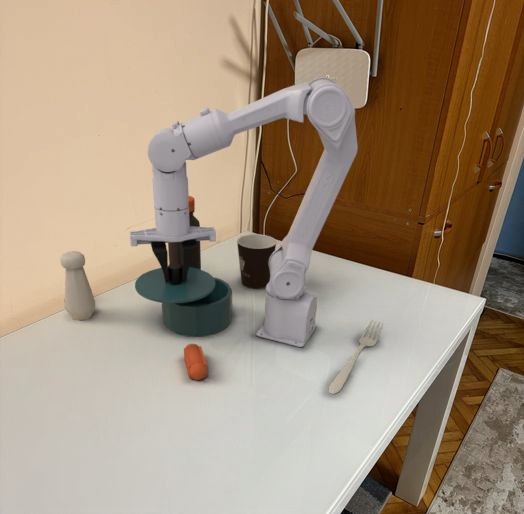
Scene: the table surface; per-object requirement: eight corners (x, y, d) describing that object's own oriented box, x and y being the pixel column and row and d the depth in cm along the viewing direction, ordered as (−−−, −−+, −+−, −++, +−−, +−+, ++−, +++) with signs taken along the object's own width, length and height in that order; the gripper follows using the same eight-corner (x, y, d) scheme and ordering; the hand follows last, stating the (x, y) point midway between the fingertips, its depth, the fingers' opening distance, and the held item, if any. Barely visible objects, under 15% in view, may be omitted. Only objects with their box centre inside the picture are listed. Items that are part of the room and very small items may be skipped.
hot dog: (209, 382, 84) (208, 367, 82) (190, 384, 83) (190, 369, 81) (199, 353, 91) (199, 339, 89) (183, 355, 90) (182, 341, 88)
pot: (243, 314, 104) (244, 285, 100) (206, 343, 94) (205, 313, 90) (189, 297, 109) (188, 270, 106) (149, 324, 99) (146, 294, 95)
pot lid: (230, 283, 96) (230, 262, 93) (183, 314, 85) (182, 291, 82) (169, 265, 101) (168, 245, 99) (118, 292, 90) (115, 270, 88)
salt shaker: (88, 324, 98) (77, 261, 91) (60, 320, 99) (48, 258, 92) (102, 310, 103) (93, 249, 96) (76, 306, 104) (65, 246, 97)
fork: (321, 390, 83) (323, 382, 82) (368, 326, 101) (370, 318, 100) (340, 397, 82) (341, 388, 81) (384, 331, 100) (386, 323, 99)
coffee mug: (274, 291, 113) (276, 249, 108) (235, 290, 113) (235, 247, 108) (274, 270, 123) (276, 230, 118) (238, 268, 123) (238, 228, 117)
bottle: (185, 278, 117) (181, 191, 106) (207, 287, 114) (206, 198, 103) (164, 288, 112) (157, 198, 102) (186, 297, 109) (182, 205, 98)
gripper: (210, 197, 90) (210, 267, 97) (125, 200, 86) (133, 273, 94) (218, 209, 84) (218, 283, 91) (128, 213, 81) (135, 290, 88)
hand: (175, 279), depth 92 cm, fingers closed on pot lid, 2 cm apart
